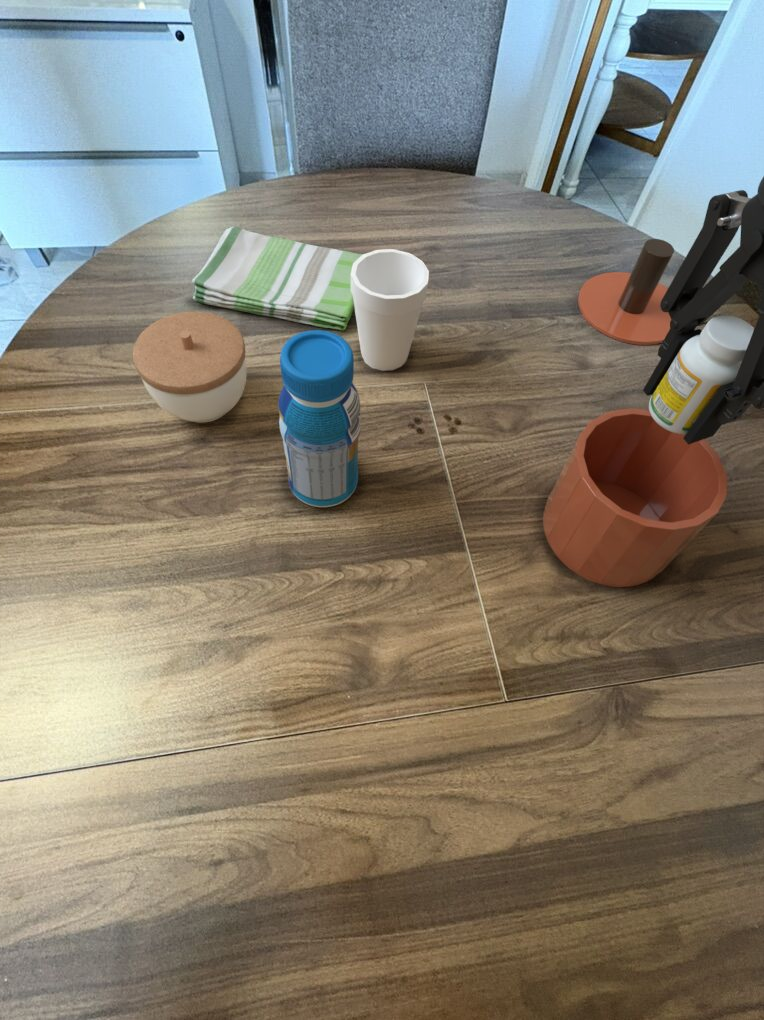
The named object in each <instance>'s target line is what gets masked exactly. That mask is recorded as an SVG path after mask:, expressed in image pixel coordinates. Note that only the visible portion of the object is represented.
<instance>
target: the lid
mask: <svg viewBox="0 0 764 1020" xmlns="http://www.w3.org/2000/svg"><path fill="white" fill-rule="evenodd" d="M674 254H675V248H674V246H673V245H672V244H671V243H670V242H668V241H665V240H663V239H660V238H650V239H648V240H646V241H645V242H644V243H643V246H642V249H641V251H640V253H639V255H638V257H637V259H636V261H635V264H634V266H633V268H632V271H631V272H627V271H626V272H624V271H611V272H604V273H601V274H597V275H594V276H593V277H591V278H589V279H588V280H586V281H585V282H584V283H583V285H582V286H581V288H580V289H579V293H578V296H577V305H578V308H579V311H580V314H581V315H582V317H583V318H584V320H586V322H587V323H588V324H589V325H590V326H591V327H593V328H594V329H595V330H596V331H598V332H599V333H601V334H603V335H604V336H606V337H609V338H611V339H613V340H615V341H618V342H620V343H621V342H622V343H626V344H630V345H638V346H653V345H658V344H662V342H663V341H664V339H665V337H666V335H667V333H668V331H669V330H670V321H671V317H670V315H669V313H668V312H663V311H662V310H661V307H660V303H661V300H662V299H663V297H664V295H665V293H666V291H667V290H668V288H669V287H666V286H665V285H663V284H662V283H660V281H661V279H662V277H663V276H664V274H665V271H666V269H667V267H668V265H669V263H670V261H671V259H672V257H673V255H674Z"/></svg>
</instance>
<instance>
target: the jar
mask: <svg viewBox="0 0 764 1020" xmlns="http://www.w3.org/2000/svg"><path fill="white" fill-rule="evenodd" d="M685 435H686V434H677V433H673V432H670V431H668V430H666V429H664V428H663V427H661V426H660V425H659V424H657V423H656V421H655V420H654V419H653V418H652V416H651V414H650V411H649V409H642V408H634V407H630V408H622V409H616V410H610V411H606V412H605V413H603V414H602V415H599V416H598V417H595V418H594V419H592V420H590V421H589V422H588V424H587V425H586V426H585V428H584V429H583V431H581V433H580V434H579V436H578V437H577V439H576V442H575V443H574V445H573V447H572V450H571V452H570V453H569V456H568V457H567V459H566V461H565V463H564V465H563V468H562V469H561V471H560V474H559V475H558V477H557V480H556V481H555V484H554V485H553V487H552V489H551V491H550V494H549V495H548V498H547V499H546V502H545V506H544V510H543V513H542V516H543V517H542V526H543V531H544V535H545V538H546V540H547V543H548V545H549V547H550V548H551V550H552V551H553V553H554V554H555V556H556V557H557V558H558V559H559V560H560V561H561V563H562V564H564V565H565V566H566V567H567V568H569V570H571V571H572V572H574V573H575V574H576V575H578V576H580V577H582V578H583V579H585V580H587V581H590V582H592V583H595V584H598V585H602V586H606V587H613V588H614V587H615V588H629V587H630V588H631V587H634V586H639V585H641V584H644V583H646V582H648V581H651V580H652V579H654V578H655V577H657V575H659V574H660V573H661V572H663V571H664V570H665V569H666V568H667V567H668V566H669V565H670V564H671V563H672V562H673V560H674V559H676V557H678V555H679V554H680V553H681V552H682V551H683V550H684V549H685V548H686V547H687V546H688V545H689V544H690V543H691V542H692V541H693V540H694V539H695V537H696V536H698V534H699V533H701V531H702V530H703V529H704V528H705V527H706V525H708V524H709V523H710V522H711V521H712V519H713V518H715V516H716V515H717V514H718V513H719V511H720V509H721V507H722V506H723V503H724V502H725V500H726V499H727V496H728V475H727V472H726V470H725V466H724V465H723V463H722V461H721V458H720V456H719V454H718V451H716V450H715V449H714V447H713V446H712V445H711V444H710V443H709V442H708V441H707V439H703V440H700V441H697V442H694V443H691V444H688V443H687V442H686V441H685V440H684V439H683V438H684V436H685Z"/></svg>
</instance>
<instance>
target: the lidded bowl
mask: <svg viewBox="0 0 764 1020" xmlns="http://www.w3.org/2000/svg"><path fill="white" fill-rule="evenodd" d="M246 356H247V355H246V343H245V339H244V337H243V334H242V332H241V331H240V329H239V328H238V327H237V326H236V325H235V324H234V323H233V322H232V321H230V320H229V319H227V318H225V317H223V316H220V315H217V314H215V313H211V312H205V311H183V312H178V313H174V314H170V315H167V316H165V317H162V318H160V319H158V320H156V321H154V322H153V323H151V324H149V326H147V327H145V329H144V330H143V331H142V332H141V333H140V334H139V336H138V337H137V339H136V340H135V342H134V344H133V348H132V361H133V362H132V363H133V365H134V367H135V370H136V372H137V374H138V375H139V377H140V379H141V381H142V383H143V385H144V387H145V389H146V391H147V392H148V394H149V396H150V397H151V398H152V400H153V401H154V402H155V403H156V405H157V406H159V407H160V408H161V409H162V410H163V411H164V412H166V413H167V414H168V415H170V416H173V417H175V418H177V419H179V420H182V421H186V422H192V423H198V424H199V423H201V424H204V423H209V422H213V421H217V420H218V419H221V418H222V417H224V416H225V415H226V414H227V413H229V412H230V411H231V410H232V409H233V408H234V407H235V406H236V405H237V403H239V401H240V400H241V398H242V396H243V393H244V391H245V388H246V384H247V377H248V367H247V366H248V364H247V357H246Z"/></svg>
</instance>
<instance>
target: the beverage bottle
mask: <svg viewBox="0 0 764 1020" xmlns="http://www.w3.org/2000/svg"><path fill="white" fill-rule="evenodd" d="M354 362H355V358H354V354H353V349H352V348H351V346H350V344H349V342H348V341H347V340H346V339H345V338H344V337H342V336H340V335H339V334H336V333H334V332H331V331H328V330H323V329H321V330H320V329H312V330H306V331H303V332H299V333H297V334H295V335H294V336H291V337H290V338H289V339H288V340H287V341H286V342H285V343H284V344H283V346H282V347H281V351H280V356H279V366H280V373H281V379H282V383H283V386H282V388H281V390H280V393H279V397H278V402H277V410H278V414H279V420H278V423H279V424H278V425H279V432H280V435H281V438H282V443H283V449H284V457H285V463H286V469H287V470H286V471H287V480H288V485H289V488H290V491H291V492H292V494H293V495H294V496H295V497H296V498H297V499H298V500H299V501H300V502H302V503H304V504H306V505H308V506H311V507H315V508H331V507H335V506H338V505H340V504H342V503H345V501H347V500H348V499H350V497H351V496H352V495H353V494H354V492H355V491H356V488H357V486H358V483H359V468H358V461H359V460H358V455H359V437H360V435H361V429H362V417H361V413H360V412H361V399H360V395H359V392H358V390H357V388H356V387H355V384H354V383H353V382H354V371H355V370H354V369H355V368H354V367H355V365H354Z"/></svg>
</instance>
